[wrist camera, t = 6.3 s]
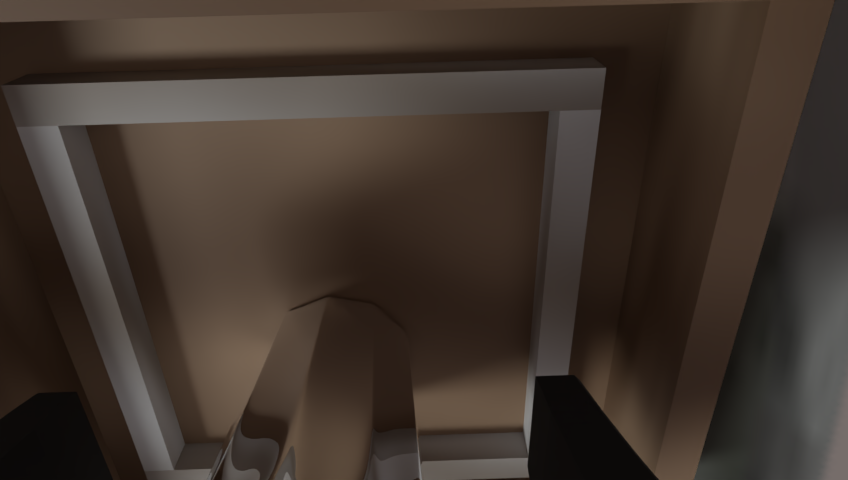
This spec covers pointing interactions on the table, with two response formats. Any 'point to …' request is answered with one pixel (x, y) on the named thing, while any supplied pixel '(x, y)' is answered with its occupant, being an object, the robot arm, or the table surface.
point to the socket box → (390, 206)
